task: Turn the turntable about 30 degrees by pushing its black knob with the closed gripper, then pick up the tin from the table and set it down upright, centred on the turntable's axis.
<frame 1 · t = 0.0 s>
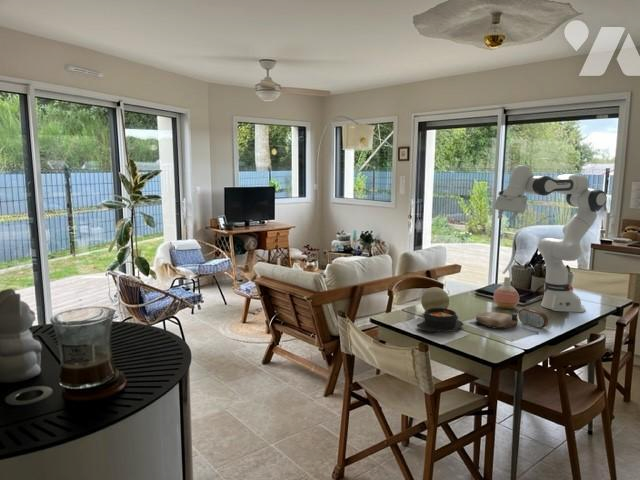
hand: (505, 219, 256), 52 cm above the table, tool tilted 20°, fingers open, 8 cm apart
casserole: (440, 328, 241), on the table
turntable base: (496, 323, 247), on the table
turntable: (496, 316, 247), point 4 cm above the table, hinge at 0.0°
vase: (505, 308, 274), on the table
tin: (532, 326, 244), on the table
decorative ball: (434, 314, 264), on the table
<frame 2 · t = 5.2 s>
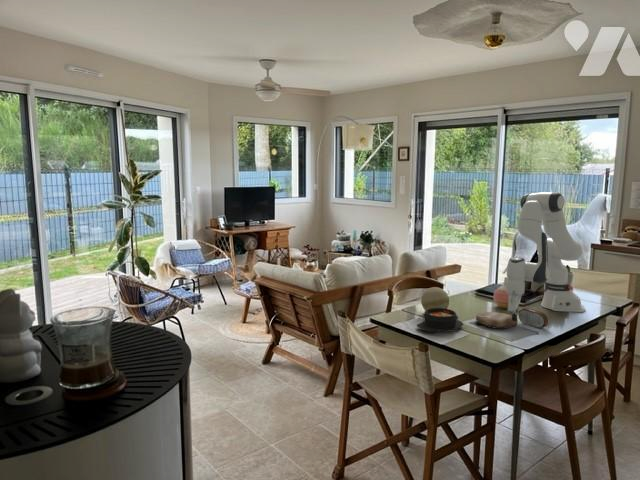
hand: (513, 315, 245), 5 cm above the table, tool pointing down, fingers closed
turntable: (496, 316, 247), point 4 cm above the table, hinge at -2.7°, touching gripper
everything else where it was.
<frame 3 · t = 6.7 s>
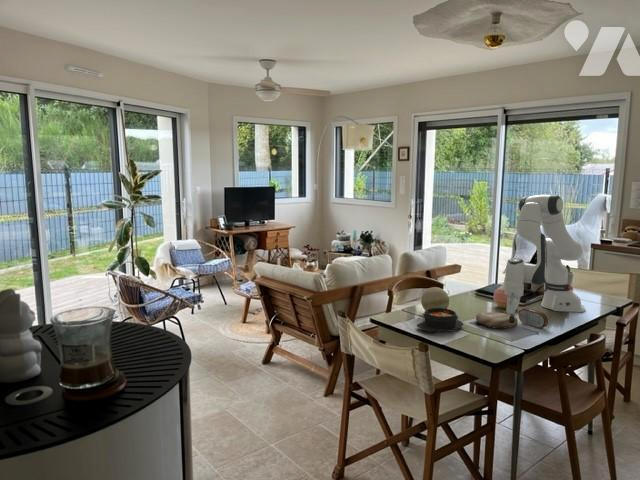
hand: (512, 317, 242), 5 cm above the table, tool pointing down, fingers closed
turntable: (496, 316, 247), point 4 cm above the table, hinge at -31.9°, touching gripper
everything else where it was.
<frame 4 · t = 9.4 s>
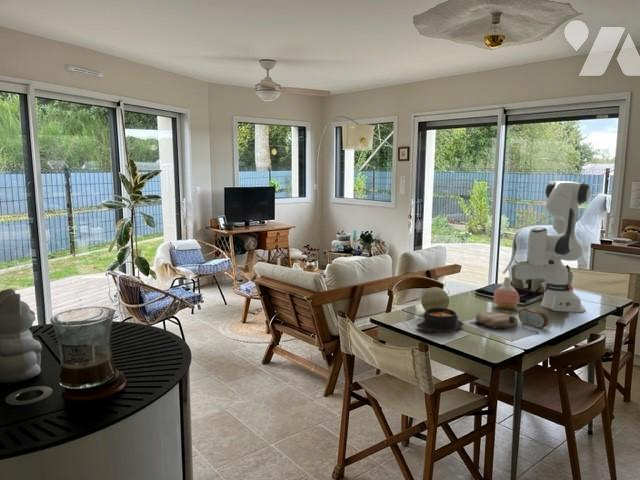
hand: (534, 287, 240), 20 cm above the table, tool pointing down, fingers open, 8 cm apart
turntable: (496, 316, 247), point 4 cm above the table, hinge at -31.9°
everything else where it was.
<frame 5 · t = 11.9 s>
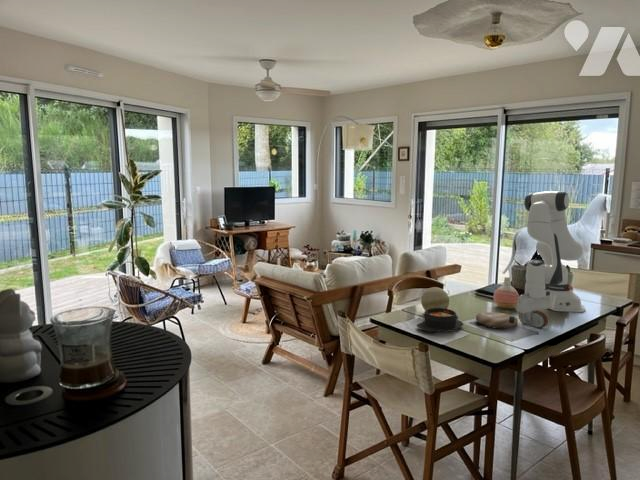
hand: (532, 319, 243), 4 cm above the table, tool pointing down, fingers closed on tin, 3 cm apart
tin: (531, 326, 244), on the table, touching gripper
everything else where it was.
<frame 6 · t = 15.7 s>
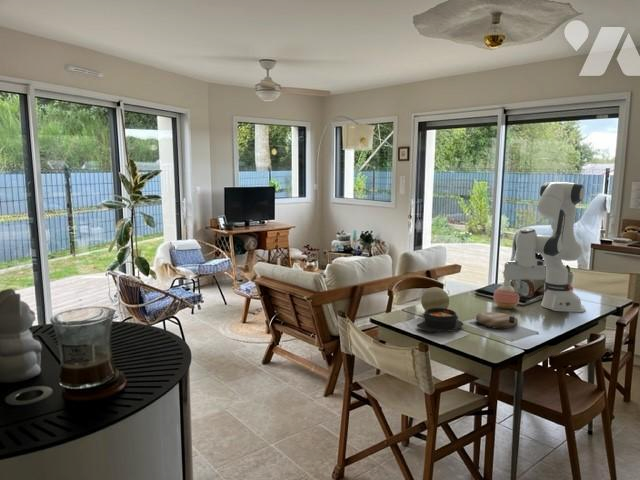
hand: (523, 288, 241), 19 cm above the table, tool pointing down, fingers closed on tin, 3 cm apart
tin: (522, 295, 242), point 16 cm above the table, touching gripper
everything else where it was.
when the fingers open (7 cm above the table, at t = 19.6 s): tin stays where it is, resting on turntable.
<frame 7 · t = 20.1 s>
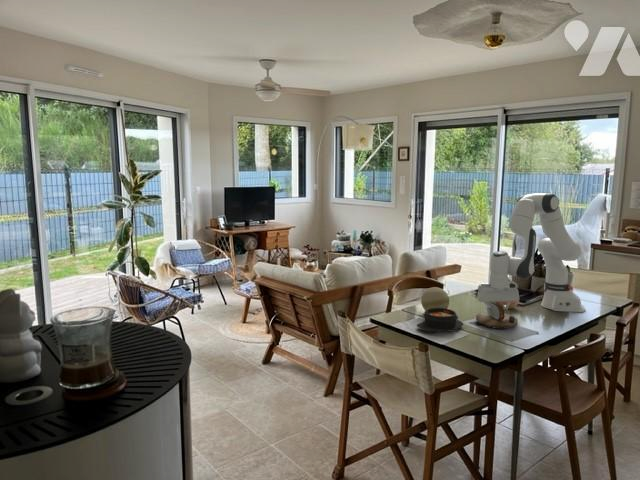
hand: (497, 309, 246), 7 cm above the table, tool pointing down, fingers open, 8 cm apart
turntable: (496, 316, 247), point 4 cm above the table, hinge at -31.9°, touching tin
tin: (494, 318, 247), point 3 cm above the table, touching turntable
everything else where it was.
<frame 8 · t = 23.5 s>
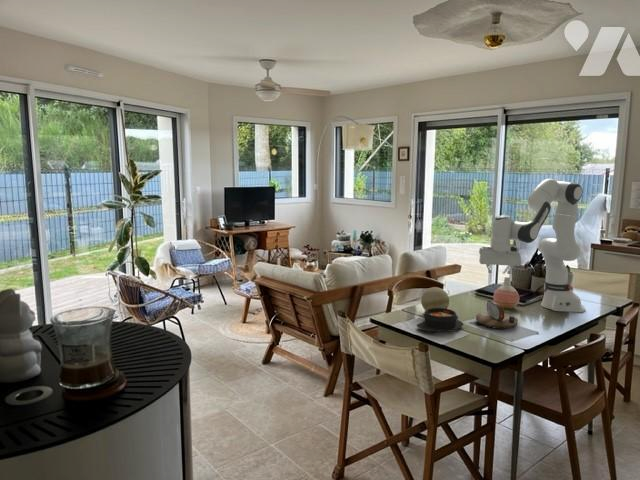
hand: (499, 273, 250), 25 cm above the table, tool pointing down, fingers open, 8 cm apart
nothing on the table moved.
at the end: tin 1.1 cm from the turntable (horizontally); tin tilted 0°; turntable at -32° (first picture: +0°) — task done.
